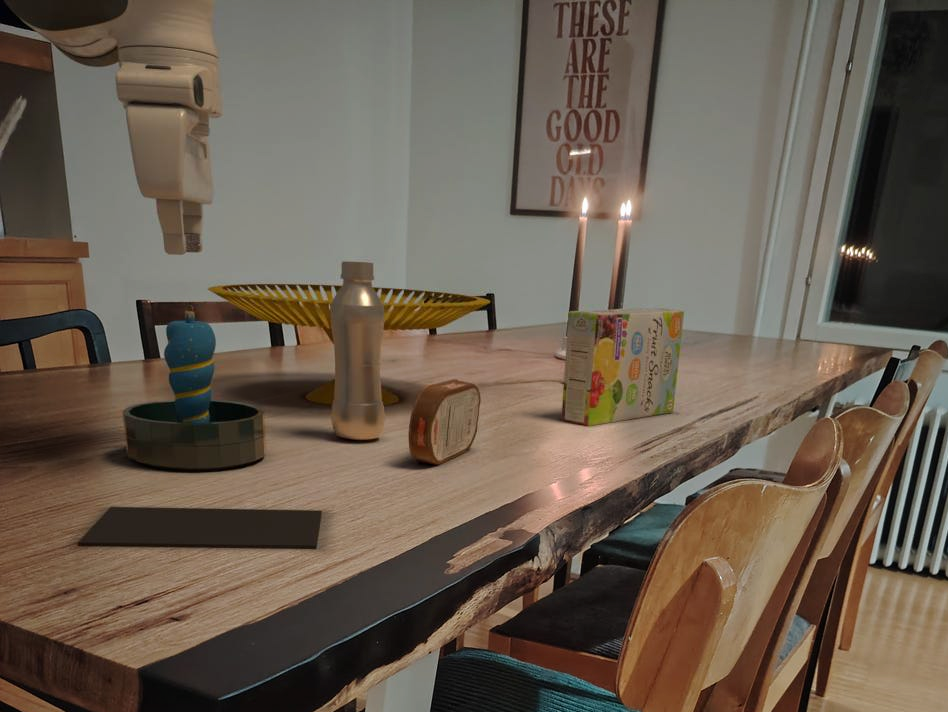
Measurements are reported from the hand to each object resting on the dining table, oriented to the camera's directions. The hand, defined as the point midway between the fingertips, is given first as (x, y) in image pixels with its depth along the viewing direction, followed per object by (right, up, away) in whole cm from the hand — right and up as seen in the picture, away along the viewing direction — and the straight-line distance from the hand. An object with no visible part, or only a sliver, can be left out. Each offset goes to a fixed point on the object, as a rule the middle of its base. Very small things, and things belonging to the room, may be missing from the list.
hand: (184, 253), depth 91 cm
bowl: (-1, -19, +8) cm, 20 cm away
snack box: (+50, -5, +45) cm, 67 cm away
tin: (+25, -18, +14) cm, 34 cm away
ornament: (-1, -18, +8) cm, 20 cm away
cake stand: (+10, -2, +48) cm, 49 cm away
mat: (+7, -29, -15) cm, 33 cm away
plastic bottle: (+14, -14, +21) cm, 29 cm away
